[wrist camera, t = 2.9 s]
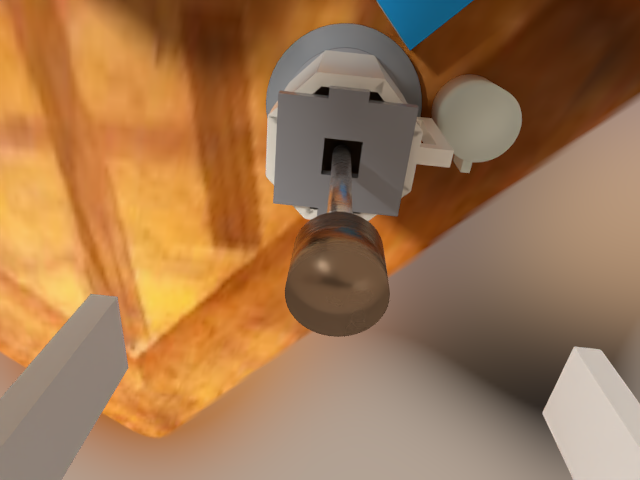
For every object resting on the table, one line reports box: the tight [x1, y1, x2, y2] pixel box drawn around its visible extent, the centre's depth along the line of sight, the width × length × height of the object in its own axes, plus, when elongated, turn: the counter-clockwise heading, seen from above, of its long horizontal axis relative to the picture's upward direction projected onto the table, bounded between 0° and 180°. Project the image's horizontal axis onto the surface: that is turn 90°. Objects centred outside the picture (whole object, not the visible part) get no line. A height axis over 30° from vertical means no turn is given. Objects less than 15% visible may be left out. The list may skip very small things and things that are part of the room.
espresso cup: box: [432, 74, 522, 173], centre depth 38 cm, size 7×6×6 cm
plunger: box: [285, 145, 390, 337], centre depth 22 cm, size 4×4×16 cm
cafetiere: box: [266, 47, 454, 221], centre depth 34 cm, size 10×13×14 cm
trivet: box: [266, 23, 422, 118], centre depth 41 cm, size 14×14×1 cm
